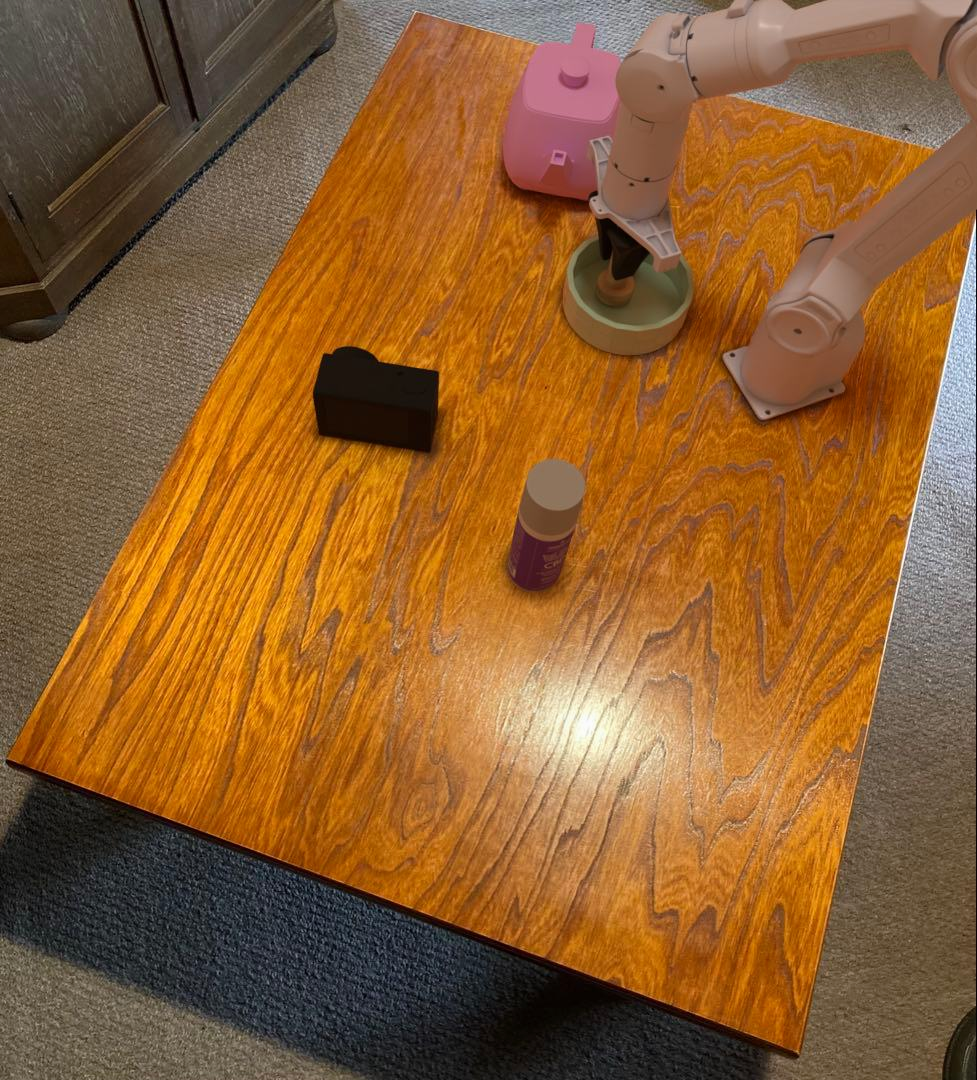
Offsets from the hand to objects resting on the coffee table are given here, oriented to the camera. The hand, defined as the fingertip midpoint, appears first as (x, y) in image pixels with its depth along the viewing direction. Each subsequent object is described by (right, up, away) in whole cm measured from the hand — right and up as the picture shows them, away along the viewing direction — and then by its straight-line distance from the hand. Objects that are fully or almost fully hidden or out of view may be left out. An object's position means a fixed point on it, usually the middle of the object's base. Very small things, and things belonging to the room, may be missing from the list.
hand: (617, 265), depth 102 cm
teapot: (-5, +13, +12) cm, 19 cm away
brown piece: (0, -2, +3) cm, 4 cm away
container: (-8, -29, -9) cm, 31 cm away
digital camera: (-22, -15, -3) cm, 27 cm away
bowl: (+1, -3, +4) cm, 5 cm away
